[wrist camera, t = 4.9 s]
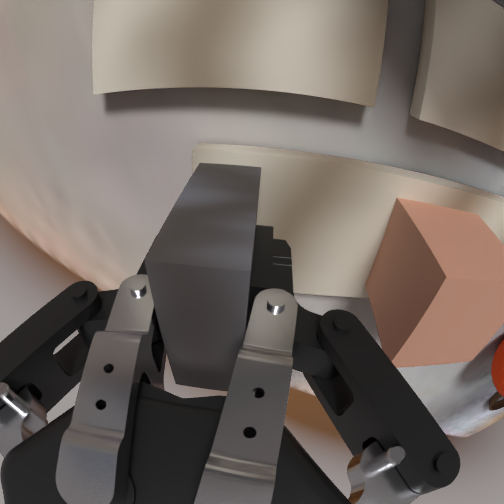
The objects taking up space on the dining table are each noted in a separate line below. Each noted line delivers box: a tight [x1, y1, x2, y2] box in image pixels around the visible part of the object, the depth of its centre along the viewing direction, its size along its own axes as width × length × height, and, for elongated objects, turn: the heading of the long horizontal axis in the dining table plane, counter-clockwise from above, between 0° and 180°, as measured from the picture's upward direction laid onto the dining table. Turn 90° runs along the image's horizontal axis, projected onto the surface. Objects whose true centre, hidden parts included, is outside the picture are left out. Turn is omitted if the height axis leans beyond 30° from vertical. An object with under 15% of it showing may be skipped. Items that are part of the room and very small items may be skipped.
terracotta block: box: [365, 198, 504, 368], centre depth 11 cm, size 5×5×5 cm
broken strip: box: [92, 0, 504, 152], centre depth 8 cm, size 24×7×1 cm, turn 86°
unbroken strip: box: [144, 143, 504, 391], centre depth 11 cm, size 24×7×7 cm, turn 86°
